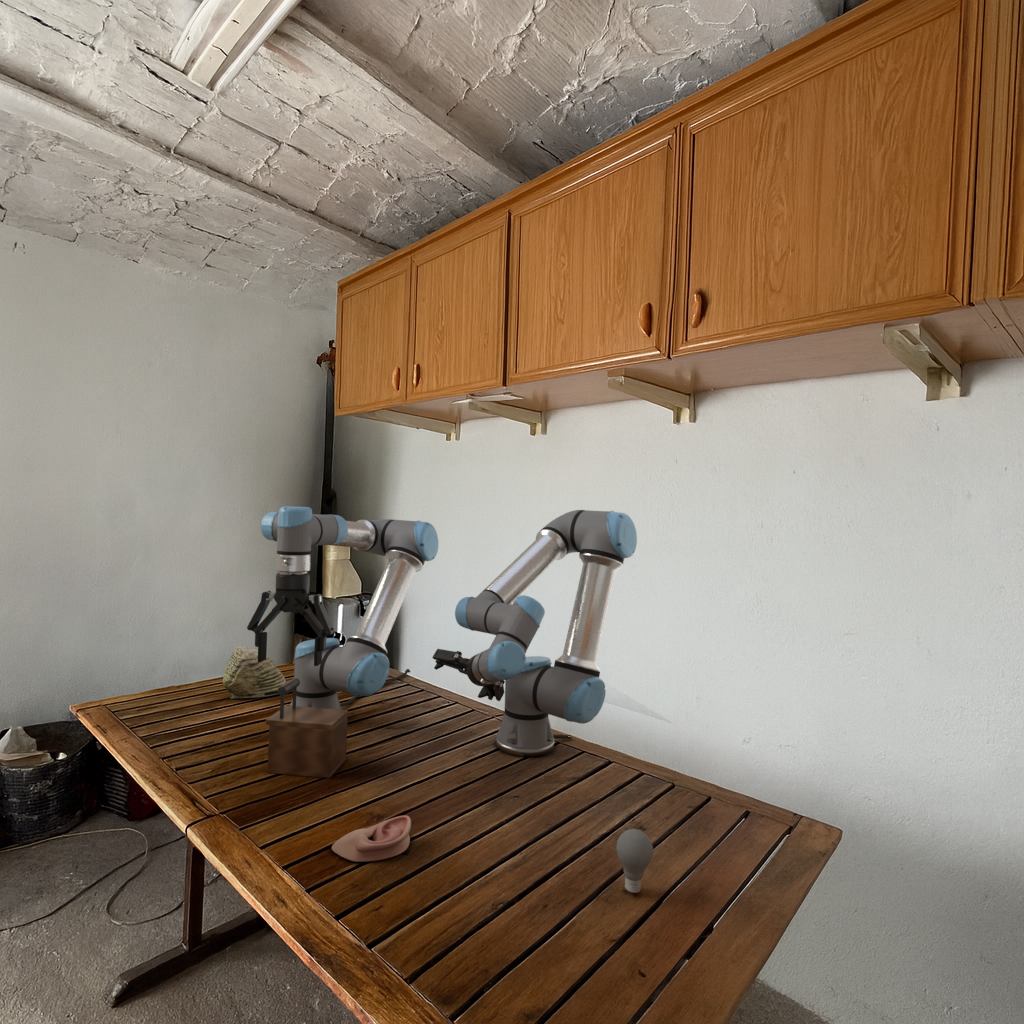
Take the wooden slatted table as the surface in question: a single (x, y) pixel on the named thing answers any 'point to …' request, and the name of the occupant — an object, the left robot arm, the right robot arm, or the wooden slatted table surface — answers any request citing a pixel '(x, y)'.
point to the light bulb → (634, 857)
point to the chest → (307, 750)
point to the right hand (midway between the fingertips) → (459, 678)
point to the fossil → (251, 675)
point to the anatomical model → (375, 841)
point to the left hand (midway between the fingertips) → (289, 662)
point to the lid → (303, 712)
